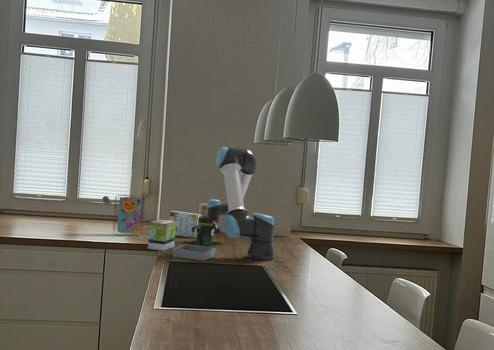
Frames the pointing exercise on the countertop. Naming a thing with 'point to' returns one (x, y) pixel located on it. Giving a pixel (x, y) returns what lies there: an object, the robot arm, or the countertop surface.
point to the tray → (194, 252)
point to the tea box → (162, 234)
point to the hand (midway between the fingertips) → (203, 232)
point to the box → (128, 213)
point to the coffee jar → (204, 231)
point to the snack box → (184, 223)
